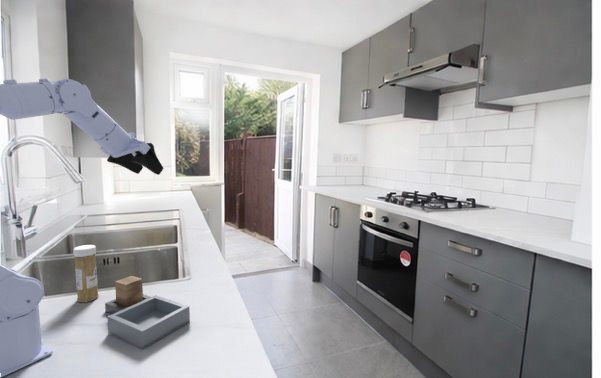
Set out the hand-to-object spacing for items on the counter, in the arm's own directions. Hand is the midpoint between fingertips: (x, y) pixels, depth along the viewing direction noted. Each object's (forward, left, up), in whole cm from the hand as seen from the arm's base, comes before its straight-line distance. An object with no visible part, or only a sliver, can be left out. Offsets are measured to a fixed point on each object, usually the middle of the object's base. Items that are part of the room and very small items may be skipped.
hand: (150, 171), depth 75 cm
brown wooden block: (-7, 0, -32) cm, 33 cm away
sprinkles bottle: (-9, +14, -32) cm, 36 cm away
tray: (-10, -11, -32) cm, 36 cm away
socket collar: (-7, 0, -32) cm, 33 cm away
